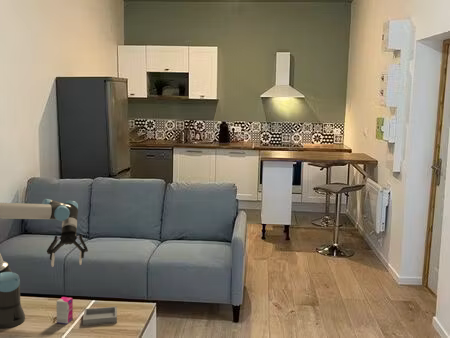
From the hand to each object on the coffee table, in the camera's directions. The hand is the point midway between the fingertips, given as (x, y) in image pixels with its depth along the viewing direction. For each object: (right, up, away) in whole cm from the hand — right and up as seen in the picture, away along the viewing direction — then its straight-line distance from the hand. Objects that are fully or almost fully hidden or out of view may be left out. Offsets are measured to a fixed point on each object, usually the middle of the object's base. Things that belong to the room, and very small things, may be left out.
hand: (66, 264), depth 244 cm
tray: (+18, -26, -3) cm, 32 cm away
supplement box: (+1, -27, -6) cm, 28 cm away
